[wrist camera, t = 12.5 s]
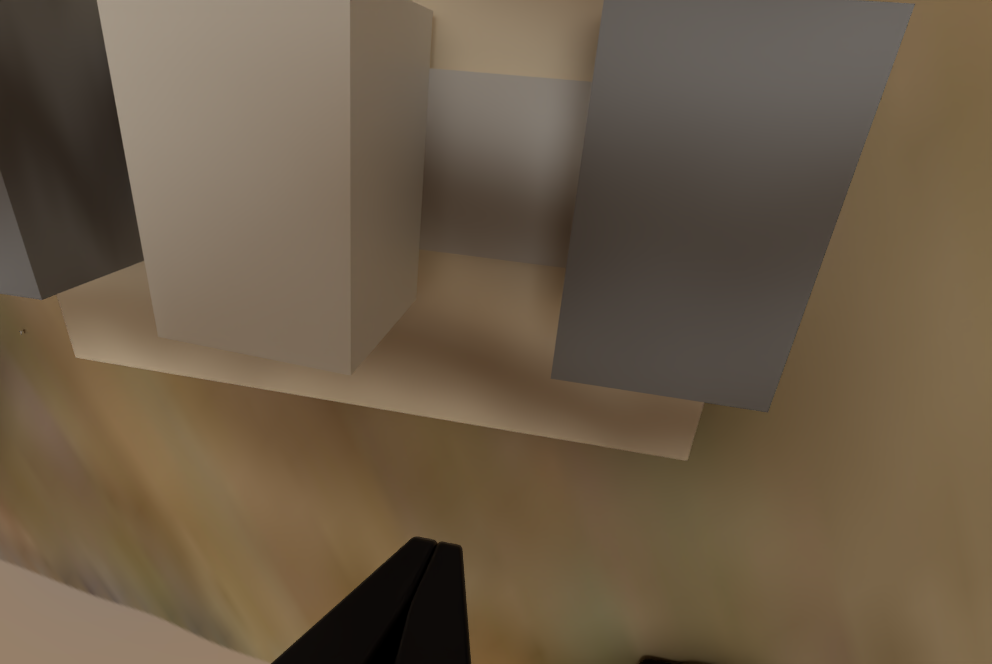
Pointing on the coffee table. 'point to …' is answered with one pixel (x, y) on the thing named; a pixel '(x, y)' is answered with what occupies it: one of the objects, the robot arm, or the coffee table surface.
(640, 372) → the rail panel
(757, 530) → the coffee table surface
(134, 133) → the module block
